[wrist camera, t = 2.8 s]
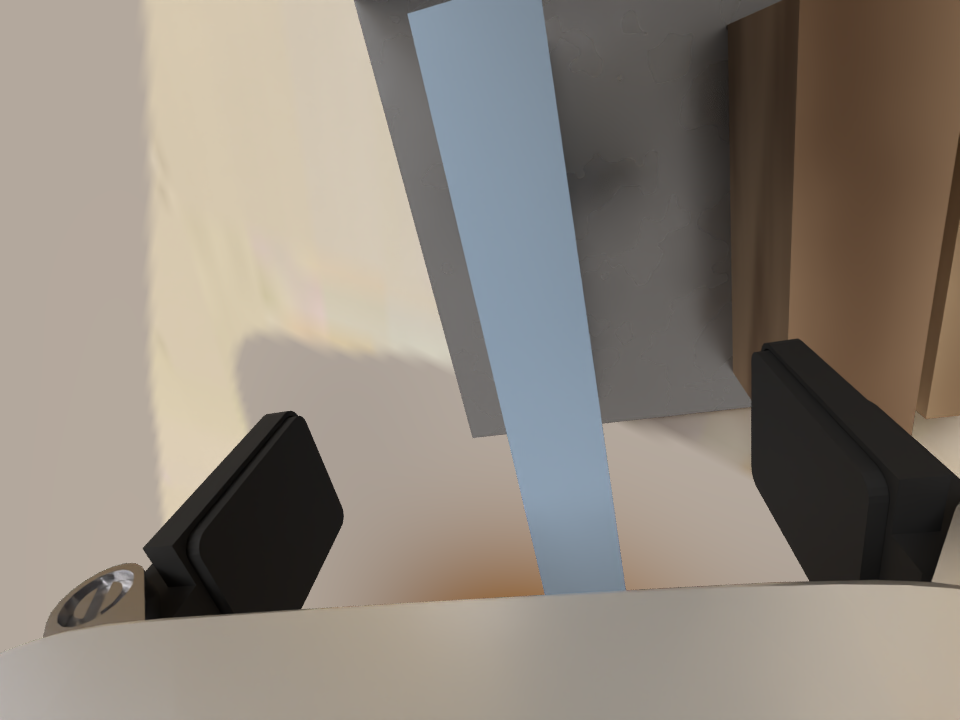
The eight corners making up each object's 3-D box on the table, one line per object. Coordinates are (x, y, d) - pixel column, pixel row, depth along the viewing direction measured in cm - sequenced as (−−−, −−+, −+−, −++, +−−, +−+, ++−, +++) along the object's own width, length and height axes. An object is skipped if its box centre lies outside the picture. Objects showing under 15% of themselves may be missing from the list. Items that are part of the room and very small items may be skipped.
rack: (1174, -306, 14) (1961, -823, 6) (1012, 365, 23) (1256, 504, 15) (352, -36, 20) (212, -131, 12) (475, 427, 28) (444, 555, 20)
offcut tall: (855, -9, 17) (989, -58, 12) (828, 360, 23) (911, 438, 18) (727, 24, 18) (800, -8, 13) (733, 372, 24) (784, 450, 19)
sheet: (546, 40, 19) (537, -26, 9) (598, 406, 26) (626, 594, 16) (480, 58, 19) (407, 13, 10) (548, 412, 26) (545, 597, 16)
